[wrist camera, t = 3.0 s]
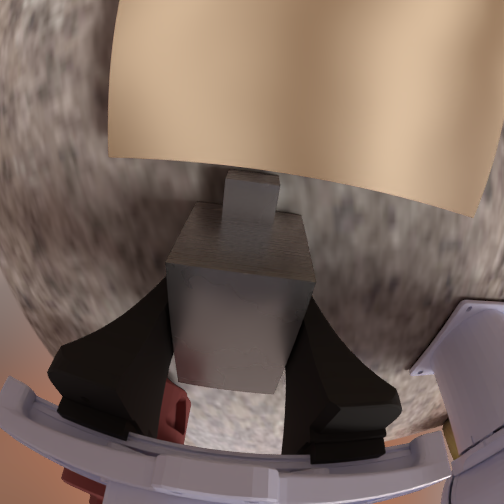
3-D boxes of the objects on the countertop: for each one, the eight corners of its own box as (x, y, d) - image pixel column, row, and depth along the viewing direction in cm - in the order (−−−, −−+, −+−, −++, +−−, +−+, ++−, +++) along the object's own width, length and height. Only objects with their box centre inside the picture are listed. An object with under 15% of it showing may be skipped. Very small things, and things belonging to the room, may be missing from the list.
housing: (308, 180, 11) (330, 235, 7) (268, 342, 17) (267, 407, 13) (199, 165, 11) (163, 213, 7) (195, 333, 17) (180, 396, 13)
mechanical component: (109, 388, 23) (84, 324, 17) (208, 413, 23) (218, 357, 18) (76, 496, 12) (18, 472, 7) (192, 531, 13) (193, 539, 8)
